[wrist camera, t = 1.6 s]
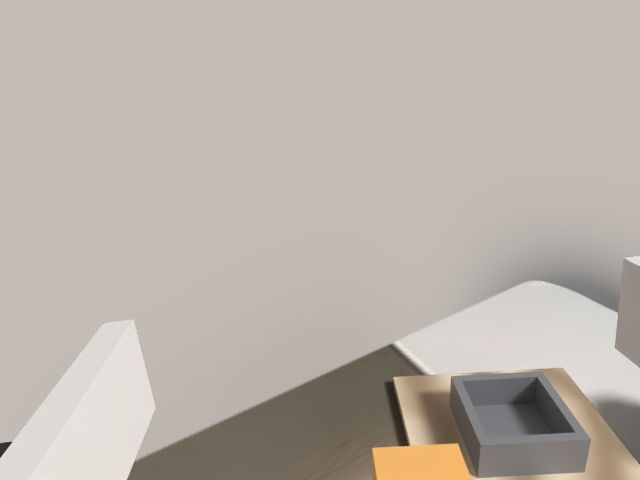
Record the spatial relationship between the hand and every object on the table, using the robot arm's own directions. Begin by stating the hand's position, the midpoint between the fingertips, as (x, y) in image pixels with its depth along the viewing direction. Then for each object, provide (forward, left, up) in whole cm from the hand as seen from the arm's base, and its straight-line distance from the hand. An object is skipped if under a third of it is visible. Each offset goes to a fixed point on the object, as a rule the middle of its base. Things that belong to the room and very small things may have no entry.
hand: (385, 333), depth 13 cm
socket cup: (+14, +22, -26) cm, 37 cm away
